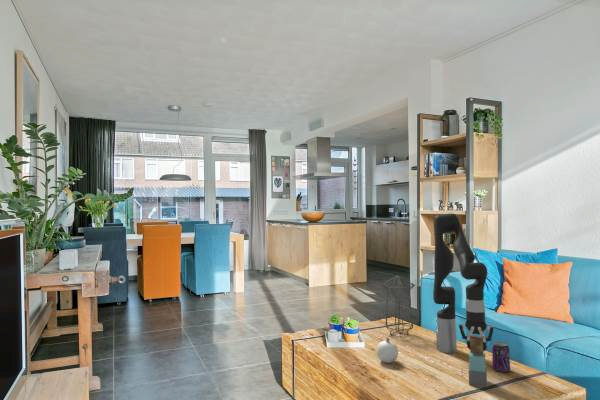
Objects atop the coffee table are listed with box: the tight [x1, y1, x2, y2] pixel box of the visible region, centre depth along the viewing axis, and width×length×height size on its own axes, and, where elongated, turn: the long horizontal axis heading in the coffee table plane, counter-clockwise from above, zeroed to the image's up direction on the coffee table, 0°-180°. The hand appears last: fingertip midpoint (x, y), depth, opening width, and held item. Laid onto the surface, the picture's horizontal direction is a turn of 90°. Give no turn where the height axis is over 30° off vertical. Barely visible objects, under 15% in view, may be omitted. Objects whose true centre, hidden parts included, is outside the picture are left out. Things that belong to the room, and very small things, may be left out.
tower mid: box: [468, 352, 486, 372], centre depth 177 cm, size 6×6×6 cm
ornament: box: [376, 337, 399, 364], centre depth 204 cm, size 10×10×12 cm
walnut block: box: [469, 334, 484, 354], centre depth 177 cm, size 5×5×6 cm
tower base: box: [468, 364, 488, 388], centre depth 177 cm, size 7×7×6 cm
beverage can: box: [491, 341, 511, 373], centre depth 190 cm, size 7×7×12 cm
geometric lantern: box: [380, 275, 416, 338], centre depth 248 cm, size 16×16×35 cm
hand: (476, 349), depth 177 cm, fingers closed on walnut block, 5 cm apart
